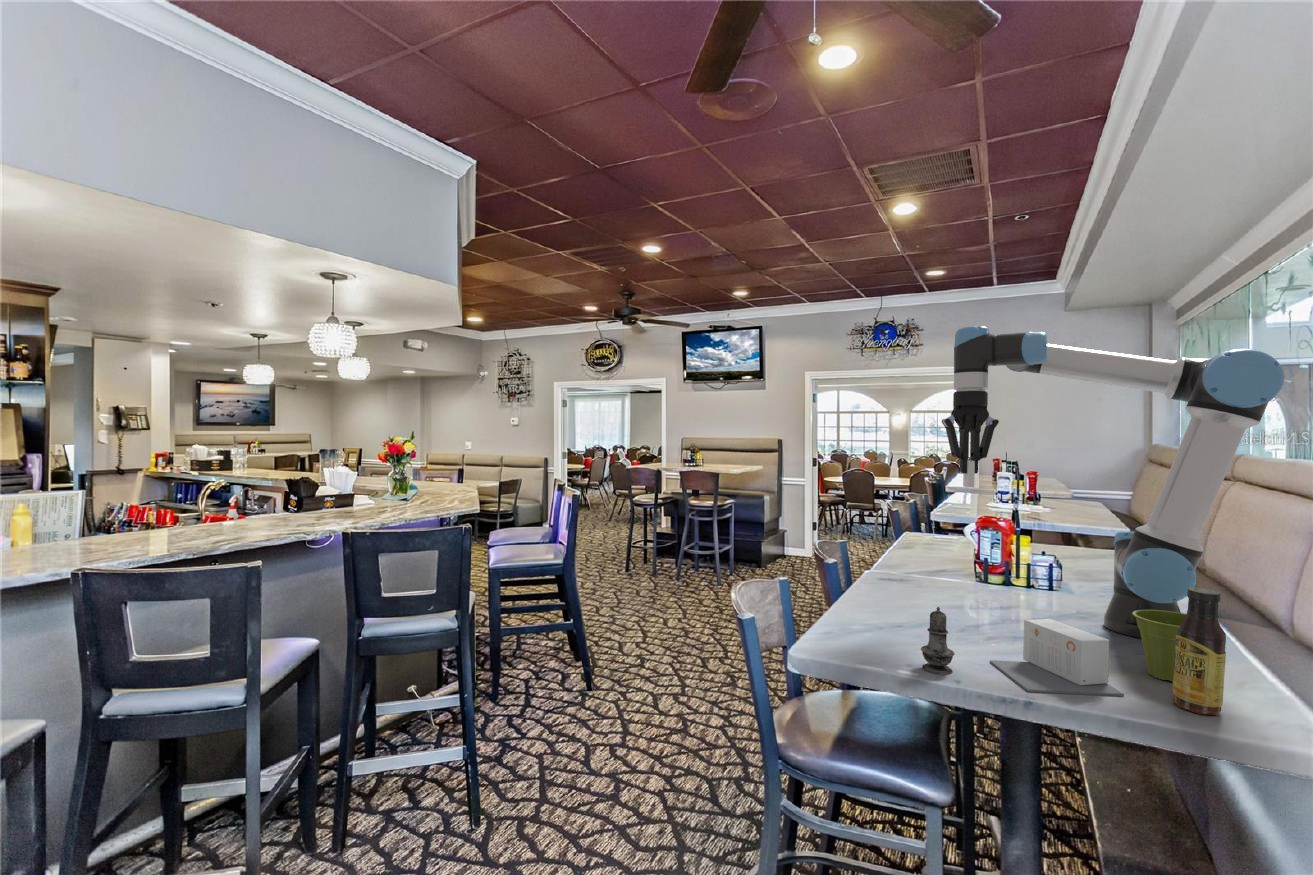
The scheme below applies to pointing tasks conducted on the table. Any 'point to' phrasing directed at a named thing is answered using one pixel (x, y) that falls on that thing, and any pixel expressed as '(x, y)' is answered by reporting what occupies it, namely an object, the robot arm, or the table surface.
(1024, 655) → the small box
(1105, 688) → the rubber mat
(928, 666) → the salt shaker
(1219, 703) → the sauce bottle
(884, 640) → the table surface
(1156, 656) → the plant pot
